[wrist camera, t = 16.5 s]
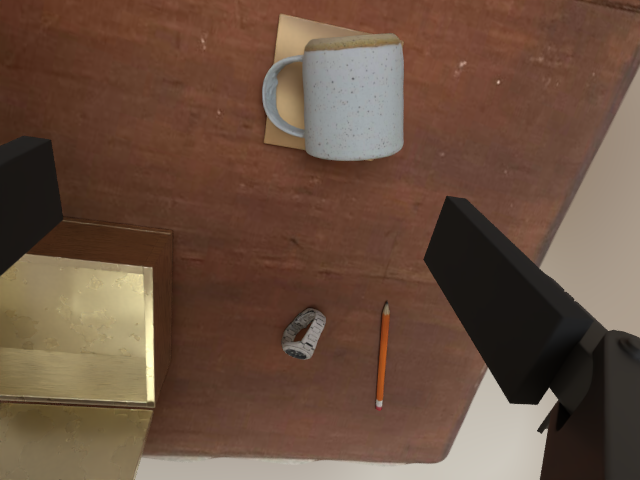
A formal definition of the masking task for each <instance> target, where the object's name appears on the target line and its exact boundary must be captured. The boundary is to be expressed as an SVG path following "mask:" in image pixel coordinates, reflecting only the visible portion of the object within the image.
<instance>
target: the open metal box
mask: <svg viewBox="0 0 640 480" xmlns="http://www.w3.org/2000/svg"><path fill="white" fill-rule="evenodd" d="M172 263H173V230H167V229H159V228H151V227H143V226H135V225H127V224H119V223H111V222H103V221H95V220H87V219H79V218H71V217H63V220H62V221H61V222H60V223H59V224H58V225H57V226H56V227H54V228H53V229H52V230H51V231H50V232H49V233H48V234H47V235H46V236H45V237H43V238H42V239H41V240H40V241H39V242H38V243H37V244H36V245H35V246H33V247H32V248H31V249H30V250H29V251H28V252H27V253H26V254H25V255H24V256H22V257H21V258H20V259H19V260H18V261H17V262H16V263H15V264H14V265H12V266H11V267H10V268H9V269H8V270H7V271H6V272H5V273H4V274H2V275H1V276H0V400H11V401H31V402H51V403H70V404H90V405H110V406H130V407H148V408H155V406H156V403H157V400H158V397H159V394H160V391H161V388H162V385H163V382H164V379H165V376H166V373H167V370H168V367H169V364H170V361H171V341H172Z"/></svg>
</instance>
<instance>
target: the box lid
mask: <svg viewBox="0 0 640 480" xmlns="http://www.w3.org/2000/svg"><path fill="white" fill-rule="evenodd" d="M153 415H154V413H153V410H136V409H116V408H96V407H76V406H56V405H36V404H15V403H0V480H135V477H136V473H137V470H138V466H139V463H140V459H141V456H142V453H143V449H144V446H145V442H146V439H147V436H148V432H149V429H150V425H151V422H152V418H153Z"/></svg>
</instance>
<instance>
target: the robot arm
mask: <svg viewBox="0 0 640 480" xmlns="http://www.w3.org/2000/svg"><path fill="white" fill-rule="evenodd" d="M62 220H63V214H62V207H61V201H60V194H59V188H58V181H57V175H56V169H55V162H54V156H53V149H52V143H51V140H50V139H43V138H36V137H28V136H22V137H20V138H17V139H15V140H13V141H10V142H8V143H6V144H4V145H1V146H0V276H1V275H2V274H4V273H5V272H6V271H7V270H8V269H9V268H10V267H11V266H12V265H14V264H15V263H16V262H17V261H18V260H19V259H20V258H21V257H22V256H24V255H25V254H26V253H27V252H28V251H29V250H30V249H31V248H32V247H33V246H35V245H36V244H37V243H38V242H39V241H40V240H41V239H42V238H43V237H45V236H46V235H47V234H48V233H49V232H50V231H51V230H52V229H53V228H54V227H56V226H57V225H58V224H59V223H60V222H61V221H62ZM423 260H424V261H425V263H426V265H427V266H428V268H429V270H430V271H431V273H432V275H433V276H434V278H435V280H436V281H437V283H438V285H439V286H440V288H441V290H442V291H443V293H444V295H445V296H446V298H447V300H448V301H449V303H450V305H451V306H452V308H453V310H454V311H455V313H456V315H457V316H458V318H459V320H460V321H461V323H462V325H463V326H464V328H465V330H466V331H467V333H468V335H469V336H470V338H471V340H472V341H473V343H474V345H475V346H476V348H477V350H478V351H479V353H480V355H481V356H482V358H483V360H484V361H485V363H486V365H487V366H488V368H489V369H490V371H491V373H492V375H493V376H494V378H495V379H496V381H497V383H498V384H499V386H500V388H501V389H502V391H503V393H504V395H505V396H506V398H507V399H508V401H509V403H512V404H532V405H533V404H534V405H537V404H538V403H539V402H540V400H541V399H542V397H543V395H544V394H545V393H546V391H547V390H548V388H550V389H551V390H552V392H553V393H554V394H555V396H556V397H557V398H558V401H557V403H556V404H555V405H554V407H553V408H552V410H551V411H550V413H549V414H548V415H547V417H546V418H545V420H544V421H543V423H542V424H541V425H540V427H539V428H538V430H537V431H538V432H540V433H541V434H542V432H543V431H544V430H545V429H548V433H547V439H546V445H545V451H544V458H543V464H542V470H541V476H540V480H640V338H639V337H637V336H634V335H632V334H629V333H626V332H623V331H616V330H612V331H608V330H607V329H605V328H604V327H603V326H602V325H601V324H600V323H599V322H598V321H597V320H596V319H595V318H594V317H593V316H592V315H590V313H588V312H587V311H586V310H585V309H584V308H583V307H582V306H581V305H580V304H579V303H578V302H576V301H574V298H573V297H571V296H570V295H569V294H568V293H567V292H564V289H563V288H562V287H561V286H560V285H559V284H558V283H557V282H556V281H554V280H553V279H552V278H551V277H549V276H548V275H546V274H545V273H544V272H543V271H541V270H540V269H539V268H538V267H537V266H536V265H535V264H534V263H533V262H532V261H531V260H530V259H529V258H528V257H527V256H526V255H525V254H524V253H523V252H521V251H520V250H519V249H518V248H517V247H516V246H515V245H514V244H513V243H512V242H511V241H510V240H509V239H508V238H507V237H506V236H505V235H504V234H503V233H501V232H500V231H499V230H498V229H497V228H496V227H495V226H494V225H493V224H492V223H491V222H490V221H489V220H488V219H487V218H486V217H485V216H484V215H483V214H482V213H480V212H479V211H478V210H477V209H476V208H475V207H474V206H473V205H472V204H471V203H470V202H469V201H468V200H467V199H465V198H458V197H451V196H446V199H445V202H444V204H443V207H442V210H441V213H440V215H439V218H438V221H437V224H436V226H435V229H434V232H433V235H432V237H431V240H430V243H429V246H428V248H427V251H426V254H425V257H424V259H423Z"/></svg>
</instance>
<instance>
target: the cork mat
mask: <svg viewBox="0 0 640 480" xmlns="http://www.w3.org/2000/svg"><path fill="white" fill-rule="evenodd" d="M356 35H373V34H370V33H366V32H361V31H357V30H352V29H348V28H343V27H339V26H334V25H330V24H325V23H321V22H316V21H312V20H308V19H303V18H299V17H294V16H290V15H285V14H280V16H279V24H278V32H277V40H276V48H275V56H274V64H275V63H277V62H278V61H280V60H282V59H284V58H287V57H291V56H297V55H304V50H305V46H306V45H307V44H308V42H309V41H310V40H312V39H319V38H332V37H345V36H356ZM400 42H401V46H402V48H403V44H404V41H401V40H400ZM302 64H303V62H300V61H299V62H293V63H291V64H288V65H286V66H285V67H284V68H283V69H282V70H281V71H280V72H279V73H278V75H277V80H278V85H277V87H276V107H277V110H278V113H279V115H280V117H281V118H282V119H283V120H284V121H286V122H287V123H288V124H290V125H292V126H294V127H296V128H300V129H304V130H305V125H304V88H303V75H302ZM264 143H266V144H272V145H278V146H284V147H290V148H296V149H302V150H306V149H305V138H301V137H296V136H293V135H290V134H288V133H286V132H284V131H282V130H280V129H279V128H278V127H276V126H275V125H274V124H273V123H272V122H271V120H270V119H269V118H268V116H267V121H266V129H265V137H264ZM368 161H373V159H369V160H368Z"/></svg>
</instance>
